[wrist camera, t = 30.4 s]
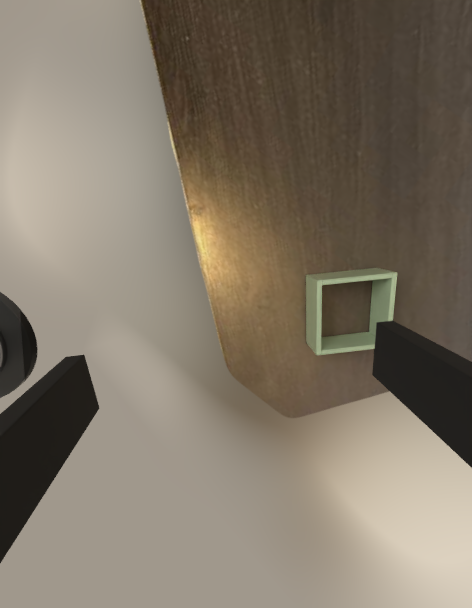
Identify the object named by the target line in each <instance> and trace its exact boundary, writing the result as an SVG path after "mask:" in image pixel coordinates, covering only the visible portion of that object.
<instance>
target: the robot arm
mask: <svg viewBox="0 0 472 608" xmlns="http://www.w3.org/2000/svg"><path fill="white" fill-rule="evenodd" d="M6 359H7V346H6V342H5V339H4V337H3V335H2V333H1V332H0V371H1V370H2V369H3V367H4V365H5V363H6ZM372 375H373V376H374V377H375V378H376V379H377V380H379V381H380V382H381V383H382V384H383V385H384V386H385V387H386V388H387V389H388V390H389V391H390V392H391V393H393V394H394V395H395V396H396V397H397V398H398V399H399V400H400V401H401V402H402V403H403V404H404V405H405V406H406V407H408V408H409V409H410V410H411V411H412V412H413V413H414V414H415V415H416V416H417V417H418V418H419V419H420V420H421V421H422V422H424V423H425V424H426V425H427V426H428V427H429V428H430V429H431V430H432V431H433V432H434V433H435V434H436V435H437V436H439V437H440V438H441V439H442V440H443V441H444V442H445V443H446V444H447V445H448V446H449V447H450V448H451V449H452V450H453V451H455V452H456V453H457V454H458V455H459V456H460V457H461V458H462V459H463V460H464V461H465V462H466V463H468V465H469V466H471V467H472V362H471V361H469V360H467V359H465V358H463V357H461V356H459V355H457V354H455V353H454V352H452V351H450V350H448V349H446V348H444V347H442V346H440V345H438V344H436V343H434V342H433V341H431V340H429V339H427V338H425V337H423V336H421V335H419V334H417V333H415V332H413V331H412V330H410V329H408V328H406V327H404V326H402V325H400V324H398V323H396V322H394V321H384V322H377V323H376V336H375V349H374V362H373V374H372ZM98 409H99V405H98V402H97V398H96V395H95V391H94V388H93V384H92V381H91V377H90V374H89V370H88V366H87V363H86V360H85V356H84V355H79V356H71V357H65V358H64V359H63V360H62V361H61V362H60V363H59V364H57V365H56V366H55V367H54V368H53V369H52V370H50V371H49V372H48V373H47V374H46V375H45V376H44V377H43V378H41V379H40V380H39V381H38V382H37V383H36V384H34V385H33V386H32V387H31V388H30V389H29V390H27V391H26V392H25V393H24V394H23V395H22V396H21V397H19V398H18V399H17V400H16V401H15V402H14V403H13V404H11V405H10V406H9V407H8V408H7V409H6V410H5V411H3V412H2V413H1V414H0V563H1V561H2V560H3V558H4V557H5V555H6V553H7V552H8V550H9V549H10V547H11V546H12V544H13V542H14V541H15V539H16V538H17V536H18V535H19V533H20V532H21V530H22V528H23V527H24V525H25V524H26V522H27V521H28V519H29V517H30V516H31V514H32V513H33V511H34V510H35V508H36V506H37V505H38V503H39V502H40V500H41V499H42V497H43V495H44V494H45V492H46V491H47V489H48V488H49V486H50V484H51V483H52V481H53V480H54V478H55V477H56V475H57V474H58V472H59V470H60V469H61V467H62V466H63V464H64V463H65V461H66V459H67V458H68V456H69V455H70V453H71V452H72V450H73V449H74V447H75V445H76V444H77V442H78V441H79V439H80V438H81V436H82V434H83V433H84V431H85V430H86V428H87V427H88V425H89V423H90V422H91V420H92V419H93V417H94V416H95V414H96V413H97V411H98Z"/></svg>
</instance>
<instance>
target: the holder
mask: <svg viewBox="0 0 472 608" xmlns="http://www.w3.org/2000/svg"><path fill="white" fill-rule="evenodd" d="M367 280H373V281H372V295H371V310H370V324H369V332H362V333H353V334H344V335H336V336H327V337H321V316H322V285H328V284H338V283H348V282H358V281H367ZM396 281H397V272H393V271H389V270H385V269H381V268H370V269H360V270H350V271H340V272H330V273H320V274H311V275H306V343H307V344H308V345H309V346H310V348H311V349H312V350H313V351H314V353H315V354H316V355H325V354H333V353H342V352H350V351H359V350H368V349H375V336H376V323H377V322H384V321H393V312H394V302H395V292H396Z"/></svg>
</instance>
